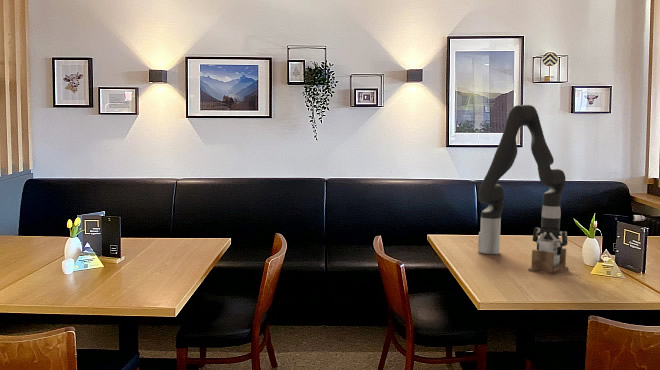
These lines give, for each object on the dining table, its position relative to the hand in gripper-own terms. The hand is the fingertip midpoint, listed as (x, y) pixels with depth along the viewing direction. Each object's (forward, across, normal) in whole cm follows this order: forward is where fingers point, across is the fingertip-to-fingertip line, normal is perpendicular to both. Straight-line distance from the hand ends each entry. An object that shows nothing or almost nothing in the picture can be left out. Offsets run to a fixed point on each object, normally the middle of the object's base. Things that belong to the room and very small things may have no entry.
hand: (549, 253), depth 256 cm
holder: (+7, 0, 0) cm, 7 cm away
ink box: (+6, 0, 0) cm, 6 cm away
